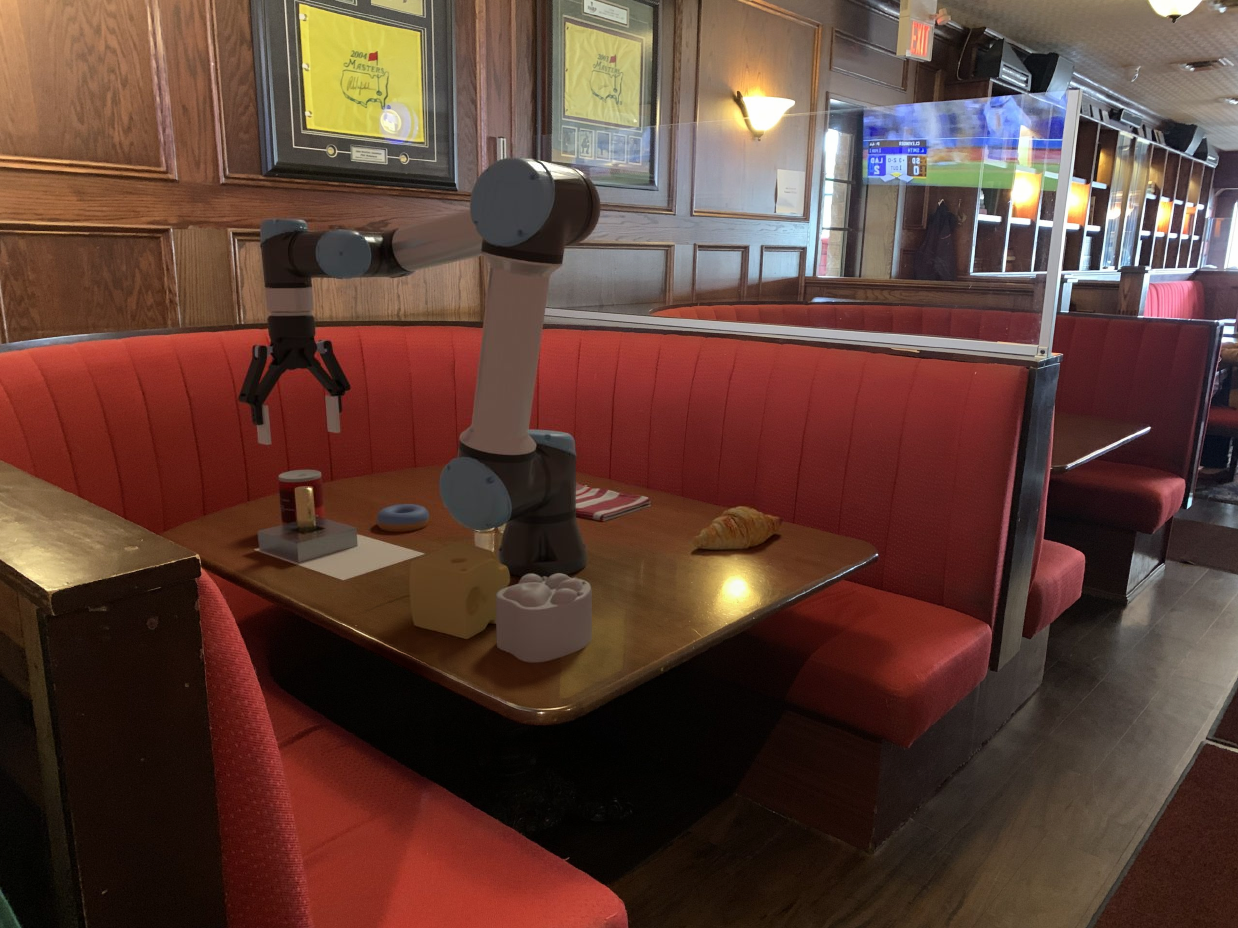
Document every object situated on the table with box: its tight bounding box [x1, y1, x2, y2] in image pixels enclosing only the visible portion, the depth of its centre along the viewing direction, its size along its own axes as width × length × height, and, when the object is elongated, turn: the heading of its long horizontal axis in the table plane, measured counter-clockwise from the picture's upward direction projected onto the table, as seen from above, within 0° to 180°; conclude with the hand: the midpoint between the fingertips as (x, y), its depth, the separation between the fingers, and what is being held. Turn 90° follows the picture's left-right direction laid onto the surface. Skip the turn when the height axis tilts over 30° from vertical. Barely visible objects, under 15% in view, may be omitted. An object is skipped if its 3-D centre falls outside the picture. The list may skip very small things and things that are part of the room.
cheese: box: [408, 541, 511, 640], centre depth 127 cm, size 10×11×10 cm
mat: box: [253, 533, 425, 581], centre depth 158 cm, size 26×17×1 cm, turn 53°
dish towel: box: [576, 481, 651, 522], centre depth 191 cm, size 17×23×3 cm
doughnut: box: [376, 503, 430, 533], centre depth 174 cm, size 10×10×5 cm
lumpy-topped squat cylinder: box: [495, 573, 593, 663], centre depth 120 cm, size 10×13×9 cm
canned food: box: [277, 469, 325, 525], centre depth 171 cm, size 8×8×11 cm
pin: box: [295, 486, 316, 534], centre depth 158 cm, size 3×3×11 cm
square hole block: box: [257, 516, 358, 563], centre depth 159 cm, size 12×12×4 cm
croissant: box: [692, 505, 783, 551], centre depth 165 cm, size 21×10×8 cm, turn 126°
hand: (300, 437), depth 155 cm, fingers open, 13 cm apart
